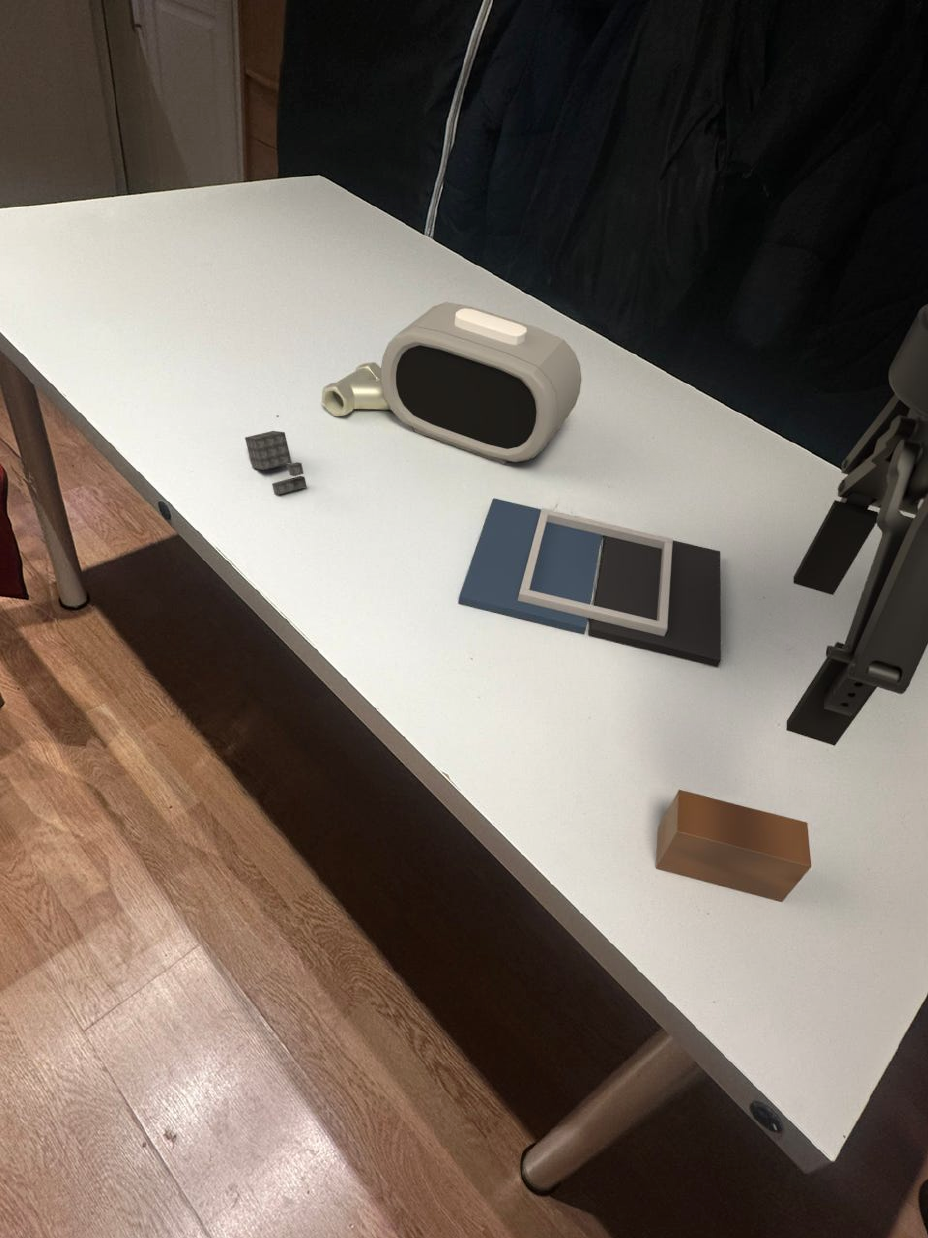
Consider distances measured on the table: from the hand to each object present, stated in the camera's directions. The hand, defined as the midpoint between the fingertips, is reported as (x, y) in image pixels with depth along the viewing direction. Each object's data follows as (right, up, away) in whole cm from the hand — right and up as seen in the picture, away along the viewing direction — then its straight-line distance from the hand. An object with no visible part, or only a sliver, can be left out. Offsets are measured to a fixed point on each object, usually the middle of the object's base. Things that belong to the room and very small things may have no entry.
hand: (811, 653), depth 51 cm
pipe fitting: (-33, +27, +46) cm, 63 cm away
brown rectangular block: (-3, -15, +8) cm, 18 cm away
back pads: (-9, +6, +29) cm, 31 cm away
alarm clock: (-21, +24, +45) cm, 55 cm away
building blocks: (-41, +17, +35) cm, 56 cm away
